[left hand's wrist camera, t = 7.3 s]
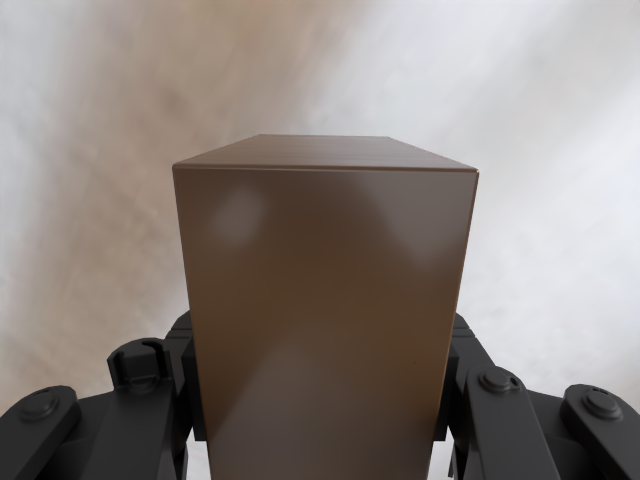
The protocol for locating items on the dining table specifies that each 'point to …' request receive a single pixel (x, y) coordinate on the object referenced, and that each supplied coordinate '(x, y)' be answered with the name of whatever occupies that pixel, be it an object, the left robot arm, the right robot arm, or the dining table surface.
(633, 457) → the left robot arm
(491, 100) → the dining table surface
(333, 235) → the bar
